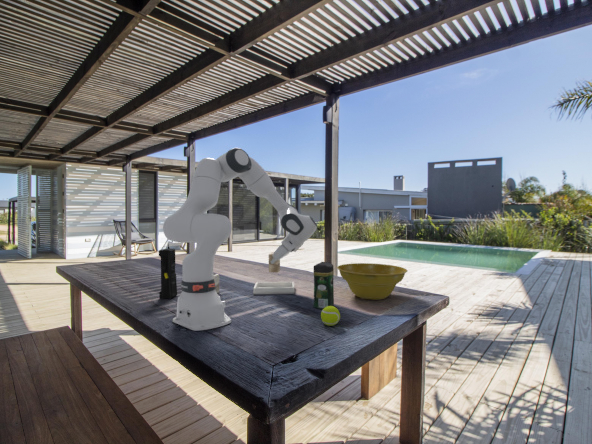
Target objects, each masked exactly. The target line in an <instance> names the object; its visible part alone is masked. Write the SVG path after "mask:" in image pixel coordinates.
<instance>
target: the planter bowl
mask: <svg viewBox="0 0 592 444" xmlns="http://www.w3.org/2000/svg"><path fill="white" fill-rule="evenodd" d="M336 269H337V270H338V272H339V274H340V277H341V278H342V279H343V280H344V281H346V282H347V285H348V287H349V289H350V291H351V293H352V294H354V295H355V296H356V297H358V298H360V299H364V300H365V299H366V300H383V299H386V298H388V297H389V296H390V295H391V294H393V292H394V289H395V288H396V286H397V284H399V283H401V281H402V280H403V279H404V277H405V274H406V273H407V272H408V270H407V268H406V267H405V268H404V267H402V266H398V265H393V264H383V263H369V262H367V263H365V262H364V263H361V262H360V263H346V264H345V263H344V264H340V265H338V266H336Z"/></svg>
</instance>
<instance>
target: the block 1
mask: <svg viewBox="0 0 592 444" xmlns="http://www.w3.org/2000/svg"><path fill="white" fill-rule="evenodd" d="M213 278H214V280H215V286H216V289H215V290H216V292H217V294H218V293H220V273H213Z"/></svg>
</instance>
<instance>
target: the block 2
mask: <svg viewBox="0 0 592 444" xmlns="http://www.w3.org/2000/svg"><path fill="white" fill-rule="evenodd" d="M273 253H274V252H271V253H269V254H268V273H276V274H277V273H279V272H280V271H281V259H279V260H277V261H275V263H274V264H271V263H270V261H271V260H272V259H273V256H272V255H273Z"/></svg>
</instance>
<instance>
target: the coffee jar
mask: <svg viewBox="0 0 592 444" xmlns="http://www.w3.org/2000/svg"><path fill="white" fill-rule="evenodd" d="M334 270H335V269H334V264H333V263H331V261H321V262H319V263H316V264H315V265H313V307H314V308H316V309H319V310H323V309H324V308H325V307H327V306H334V304H335V299H334V298H335V296H334V295H335V294H334V292H335V291H334V288H335V287H334V286H335V285H334V272H335V271H334Z"/></svg>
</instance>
